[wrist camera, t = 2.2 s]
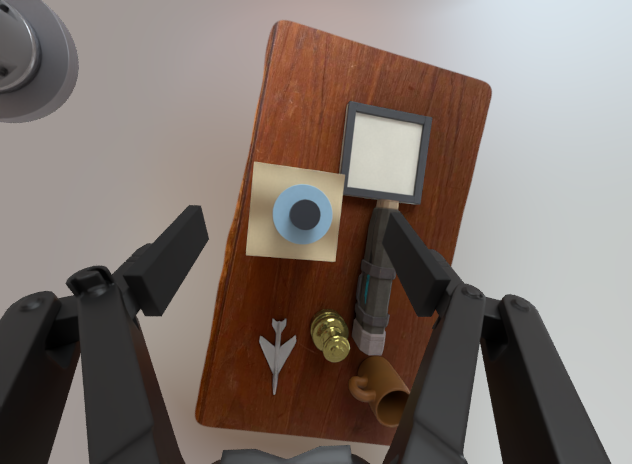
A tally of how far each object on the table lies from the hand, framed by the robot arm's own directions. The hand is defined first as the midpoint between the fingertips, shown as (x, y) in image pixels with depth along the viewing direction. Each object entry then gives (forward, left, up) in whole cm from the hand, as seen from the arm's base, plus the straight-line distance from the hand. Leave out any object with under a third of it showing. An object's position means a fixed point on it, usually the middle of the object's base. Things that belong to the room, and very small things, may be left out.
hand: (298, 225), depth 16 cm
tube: (+9, +19, -30) cm, 37 cm away
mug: (+32, +21, -30) cm, 49 cm away
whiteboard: (-15, +19, -30) cm, 38 cm away
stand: (-1, +1, -30) cm, 30 cm away
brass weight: (+22, +11, -30) cm, 39 cm away
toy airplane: (+27, +1, -30) cm, 41 cm away
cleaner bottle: (-1, +1, -14) cm, 14 cm away
